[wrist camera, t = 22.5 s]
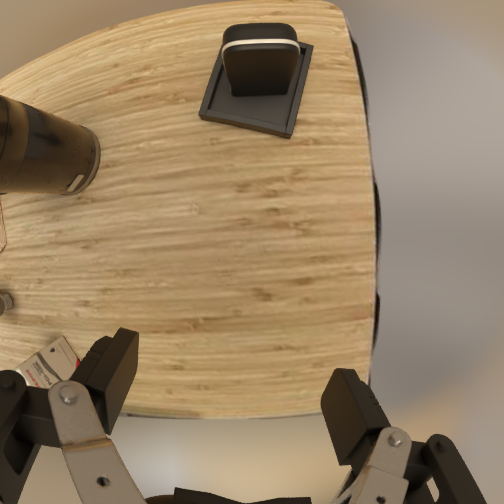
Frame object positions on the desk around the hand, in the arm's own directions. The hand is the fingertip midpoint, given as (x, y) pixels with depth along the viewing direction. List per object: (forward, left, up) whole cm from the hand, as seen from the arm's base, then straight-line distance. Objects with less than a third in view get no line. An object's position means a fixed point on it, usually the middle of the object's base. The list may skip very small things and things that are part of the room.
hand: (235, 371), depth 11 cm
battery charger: (-4, +21, -24) cm, 32 cm away
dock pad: (-4, +21, -24) cm, 32 cm away
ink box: (-23, -23, -24) cm, 40 cm away
